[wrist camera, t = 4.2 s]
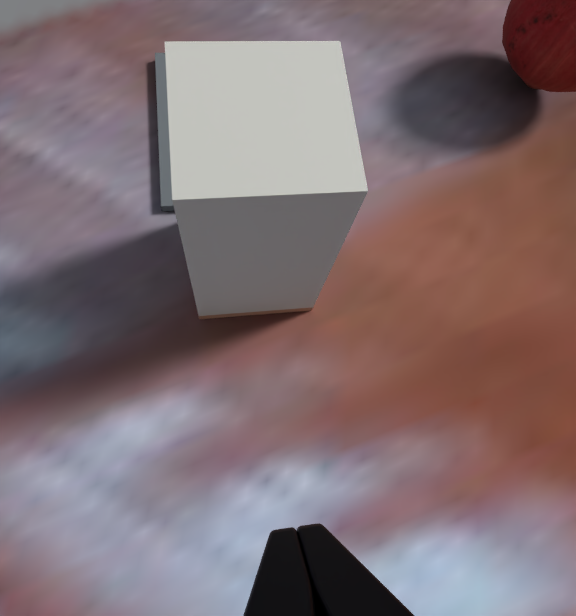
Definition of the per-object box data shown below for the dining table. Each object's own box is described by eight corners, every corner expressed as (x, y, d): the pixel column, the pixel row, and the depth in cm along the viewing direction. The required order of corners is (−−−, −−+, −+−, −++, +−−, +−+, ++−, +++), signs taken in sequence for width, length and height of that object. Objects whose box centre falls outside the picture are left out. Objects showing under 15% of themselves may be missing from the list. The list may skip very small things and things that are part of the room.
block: (311, 310, 20) (367, 191, 12) (199, 319, 19) (171, 200, 11) (298, 212, 21) (339, 40, 13) (192, 217, 21) (164, 41, 12)
